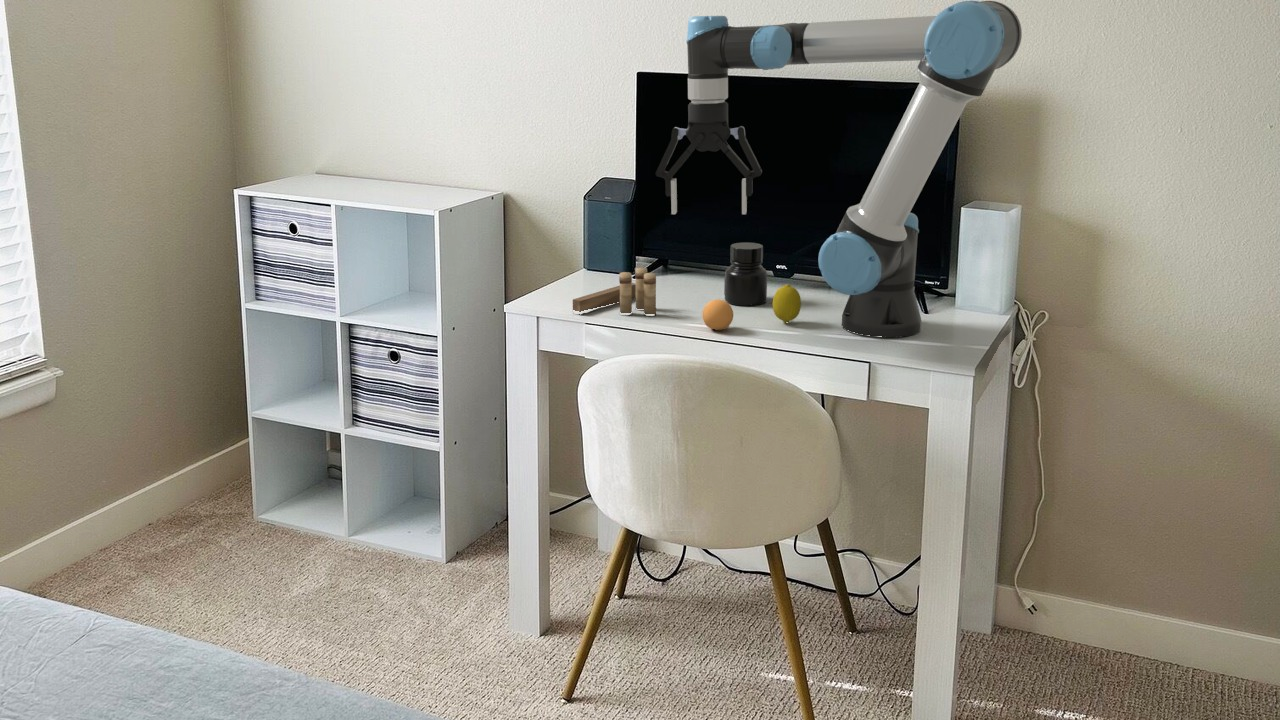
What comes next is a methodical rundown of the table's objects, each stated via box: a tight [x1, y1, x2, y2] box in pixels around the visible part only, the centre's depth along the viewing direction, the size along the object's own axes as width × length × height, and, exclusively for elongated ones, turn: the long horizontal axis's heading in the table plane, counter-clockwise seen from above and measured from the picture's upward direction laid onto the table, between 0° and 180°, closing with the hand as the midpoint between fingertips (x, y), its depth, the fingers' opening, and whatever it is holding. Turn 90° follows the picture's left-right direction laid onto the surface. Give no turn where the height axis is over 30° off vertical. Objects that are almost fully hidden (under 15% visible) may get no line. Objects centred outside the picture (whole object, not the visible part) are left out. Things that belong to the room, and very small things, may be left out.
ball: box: [701, 298, 734, 331], centre depth 226 cm, size 6×6×6 cm
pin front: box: [643, 272, 657, 314], centre depth 236 cm, size 2×2×8 cm
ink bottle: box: [723, 242, 768, 307], centre depth 245 cm, size 10×9×12 cm
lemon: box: [772, 283, 802, 323], centre depth 230 cm, size 6×6×8 cm
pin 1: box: [618, 271, 633, 313], centre depth 237 cm, size 2×2×8 cm
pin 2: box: [634, 267, 648, 309], centre depth 240 cm, size 2×2×8 cm
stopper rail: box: [572, 282, 636, 312], centre depth 244 cm, size 2×18×3 cm, turn 141°
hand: (709, 213), depth 226 cm, fingers open, 13 cm apart
